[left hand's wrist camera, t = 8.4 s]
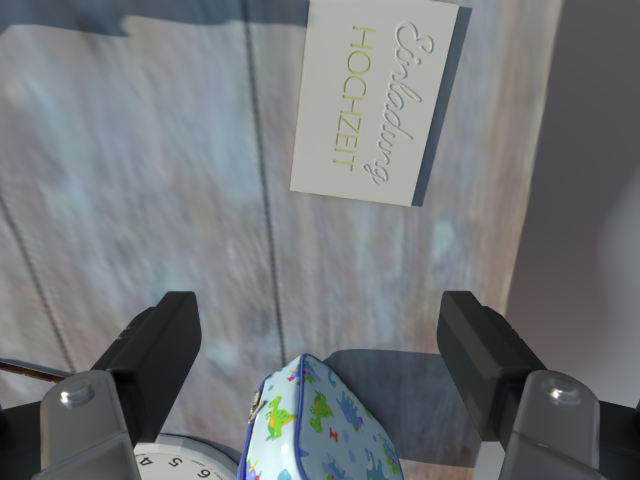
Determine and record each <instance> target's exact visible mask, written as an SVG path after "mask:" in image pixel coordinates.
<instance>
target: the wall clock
mask: <svg viewBox="0 0 640 480" xmlns="http://www.w3.org/2000/svg"><path fill="white" fill-rule="evenodd" d="M134 454H135V457H136V461H137V465H138V468H139V472H140V475H141V479H142V480H237V473H238V467H239V466H238V465H237V464H236V463H235V462H234V461H232V460H231V459H230V458H229V457H228V456H227V455H225V454H224V453H222V452H220V451H218V450H216V449H215V448H213V447H211V446H209V445H207V444H204V443H201V442H198V441H195V440H192V439H189V438H186V437H180V436H172V435H164V434H159V435H158V437H157V439H156V441H155V443H137V445H136V447H135V449H134Z"/></svg>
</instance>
